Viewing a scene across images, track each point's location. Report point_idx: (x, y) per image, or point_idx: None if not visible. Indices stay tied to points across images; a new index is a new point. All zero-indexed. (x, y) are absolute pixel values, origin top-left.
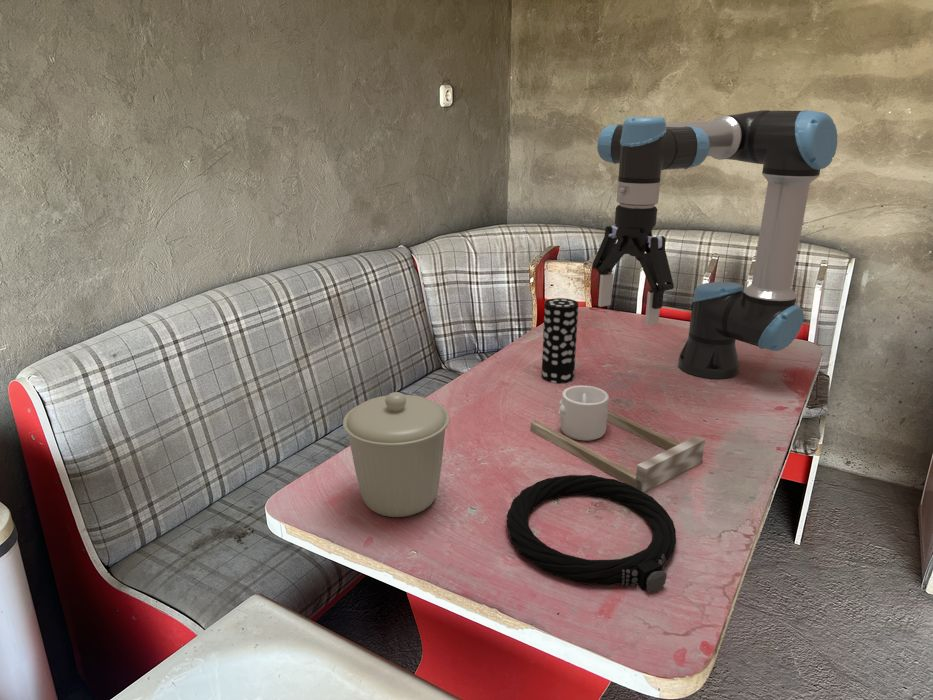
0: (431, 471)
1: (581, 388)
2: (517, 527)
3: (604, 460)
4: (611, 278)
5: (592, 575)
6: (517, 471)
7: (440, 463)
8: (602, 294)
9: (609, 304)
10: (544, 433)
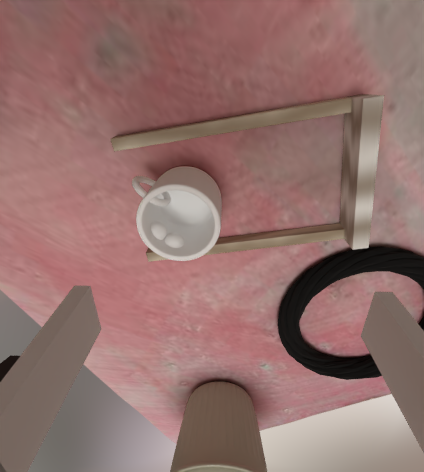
0: (258, 434)
1: (145, 208)
2: (332, 376)
3: (286, 242)
4: (11, 414)
5: None
6: (231, 311)
7: (247, 423)
8: (76, 369)
9: (89, 293)
10: None
